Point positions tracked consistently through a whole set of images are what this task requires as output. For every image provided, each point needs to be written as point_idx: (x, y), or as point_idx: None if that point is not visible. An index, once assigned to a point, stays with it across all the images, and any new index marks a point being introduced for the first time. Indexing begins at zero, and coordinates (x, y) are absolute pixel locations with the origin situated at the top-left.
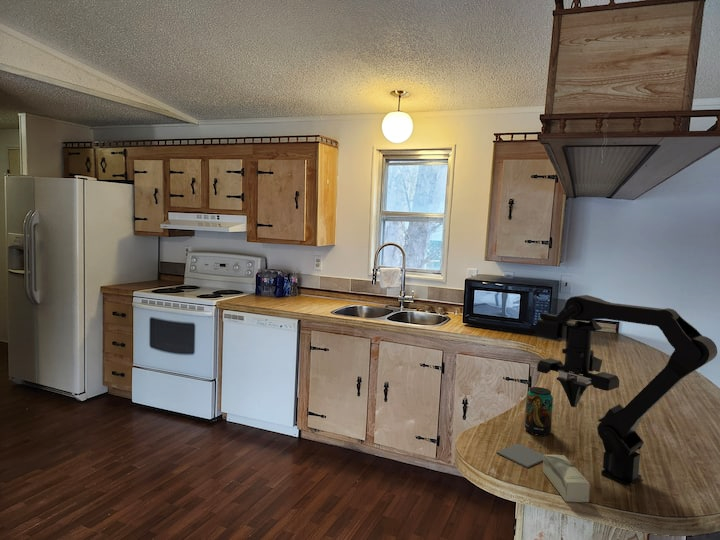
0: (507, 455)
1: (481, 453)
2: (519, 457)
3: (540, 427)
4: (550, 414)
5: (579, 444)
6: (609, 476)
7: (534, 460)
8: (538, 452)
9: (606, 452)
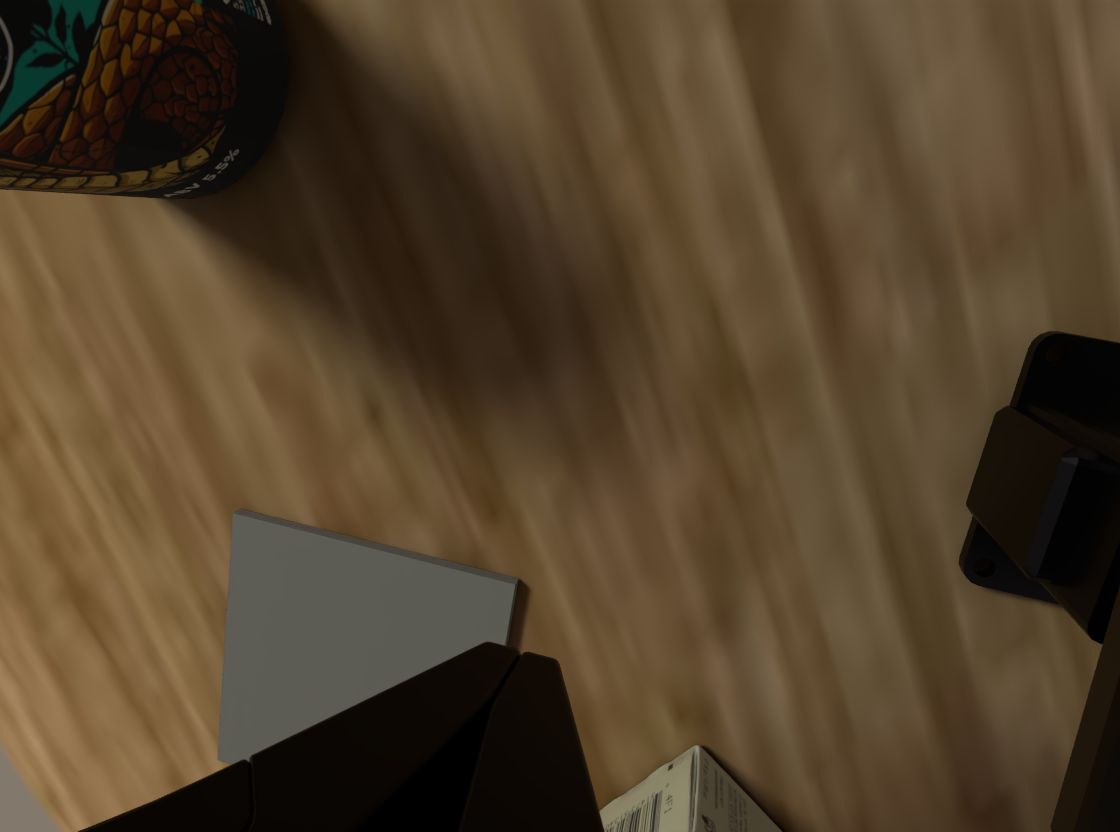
0: None
1: None
2: None
3: (202, 169)
4: (143, 16)
5: (602, 40)
6: (1045, 598)
7: None
8: (421, 565)
9: (1066, 611)
